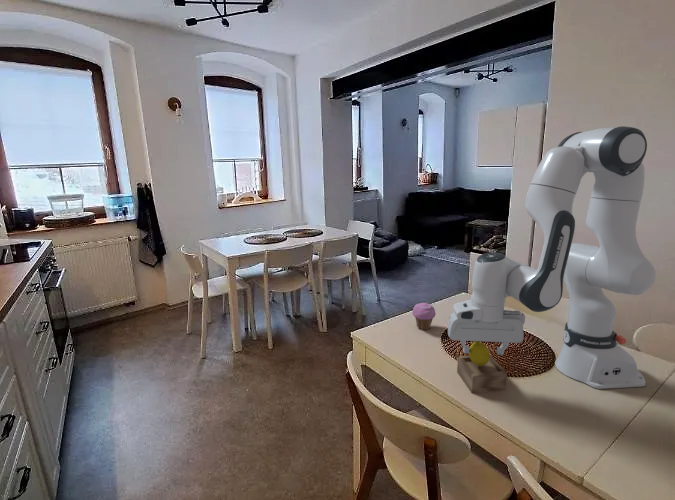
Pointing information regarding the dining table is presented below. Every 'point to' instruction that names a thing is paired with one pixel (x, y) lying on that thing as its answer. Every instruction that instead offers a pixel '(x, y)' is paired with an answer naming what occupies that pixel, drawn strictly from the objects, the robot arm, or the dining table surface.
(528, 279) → the robot arm
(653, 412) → the dining table surface
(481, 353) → the lemon
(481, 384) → the walnut tray
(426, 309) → the cupcake
